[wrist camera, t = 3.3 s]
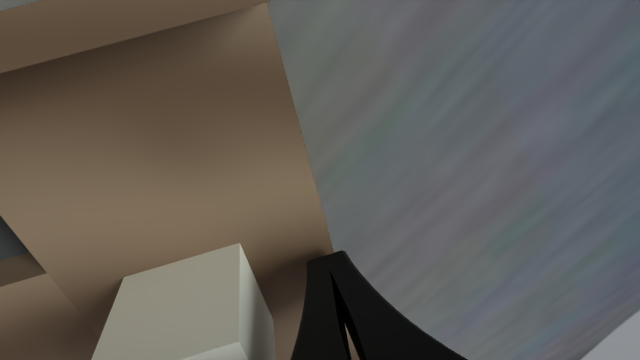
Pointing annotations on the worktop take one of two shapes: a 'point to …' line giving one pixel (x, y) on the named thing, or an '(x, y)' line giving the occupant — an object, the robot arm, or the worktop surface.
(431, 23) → the worktop surface
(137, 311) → the cream cube
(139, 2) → the box
